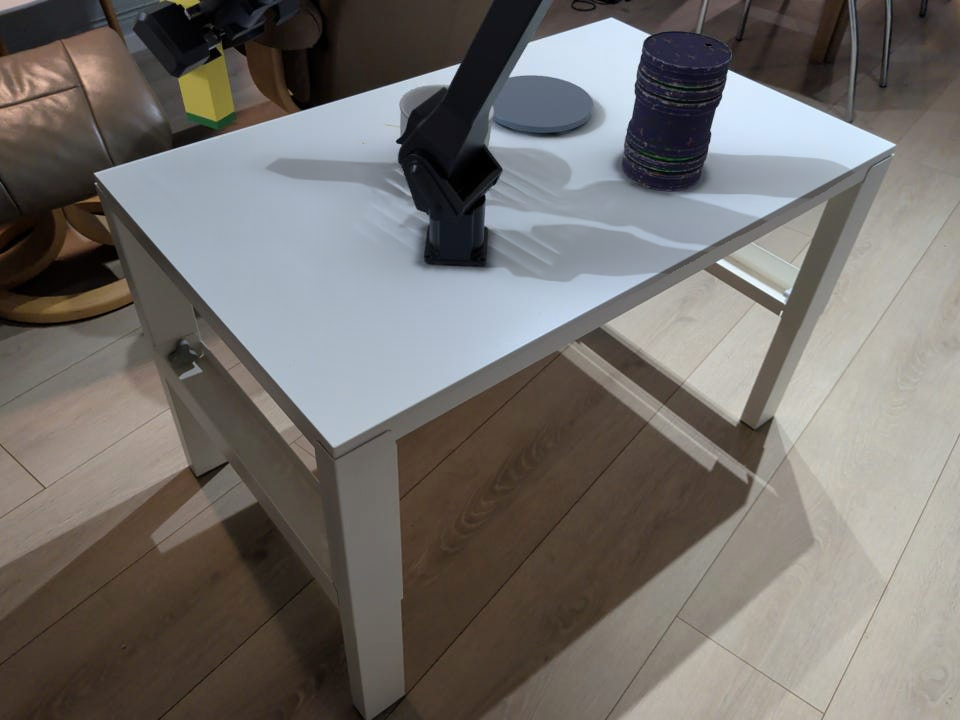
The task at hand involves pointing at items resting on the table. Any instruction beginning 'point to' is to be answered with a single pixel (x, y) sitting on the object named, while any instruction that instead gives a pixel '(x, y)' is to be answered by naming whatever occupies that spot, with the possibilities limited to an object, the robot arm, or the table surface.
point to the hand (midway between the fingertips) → (190, 58)
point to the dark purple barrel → (674, 109)
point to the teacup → (418, 97)
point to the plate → (542, 104)
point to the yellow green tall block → (207, 89)
